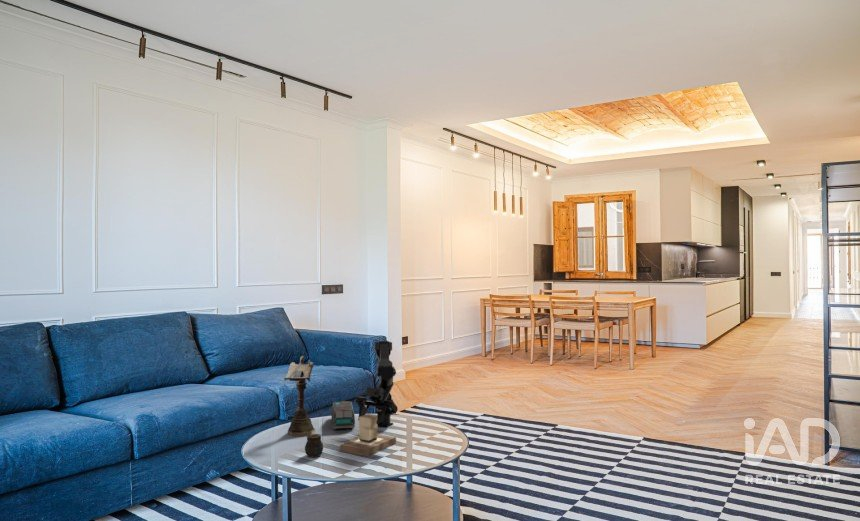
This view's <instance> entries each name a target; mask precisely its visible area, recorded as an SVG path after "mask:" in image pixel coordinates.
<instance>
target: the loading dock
mask: <svg viewBox="0 0 860 521" xmlns="http://www.w3.org/2000/svg"><path fill="white" fill-rule="evenodd" d="M396 443H397V437H396V436H393V435H386V434H379V433H378V437H377V440H373V439H372V441H371V442H364V441H360V440H359V436H358V437H355V438H353V439H350V440H347V441H345V442H343V443H340V444H339V452H345V453H349V454H354V455H359V456H366V457H369V456H371V455H373V454H376V453H378V452H380V451H382V450H385V449H386V448H389V447H390V446H393V445H395V444H396Z"/></svg>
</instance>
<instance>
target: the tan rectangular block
mask: <svg viewBox="0 0 860 521" xmlns="http://www.w3.org/2000/svg"><path fill="white" fill-rule="evenodd" d="M358 418H359V420H358V422H359V423H358V425H359V426H358V437H359V440H360V441H364V442H371V441H372V439H373V440H377V437H378V434H379V433H378V432H379V431H378V428H379V426H378V424H377V423H376V422H377V419H378V417H377V414H372V413H366V414H365V415H363V416H360V417H359V416H358Z"/></svg>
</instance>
